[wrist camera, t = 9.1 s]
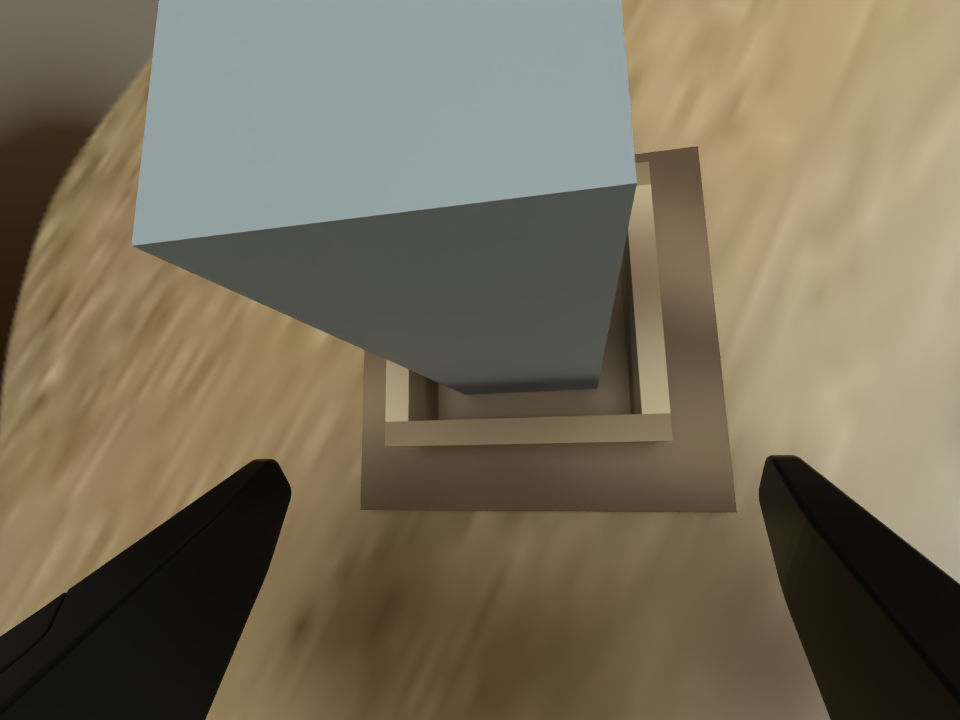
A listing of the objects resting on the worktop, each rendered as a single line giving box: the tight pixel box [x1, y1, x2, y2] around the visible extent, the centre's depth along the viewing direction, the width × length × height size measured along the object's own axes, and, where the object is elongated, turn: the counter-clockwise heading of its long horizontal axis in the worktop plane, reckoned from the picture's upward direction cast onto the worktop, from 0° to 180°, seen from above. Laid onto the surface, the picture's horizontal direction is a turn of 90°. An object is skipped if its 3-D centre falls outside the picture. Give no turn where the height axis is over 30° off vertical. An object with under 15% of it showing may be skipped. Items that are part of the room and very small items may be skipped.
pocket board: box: [361, 146, 737, 512], centre depth 16 cm, size 12×12×4 cm
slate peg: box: [132, 0, 637, 395], centre depth 11 cm, size 4×4×13 cm
